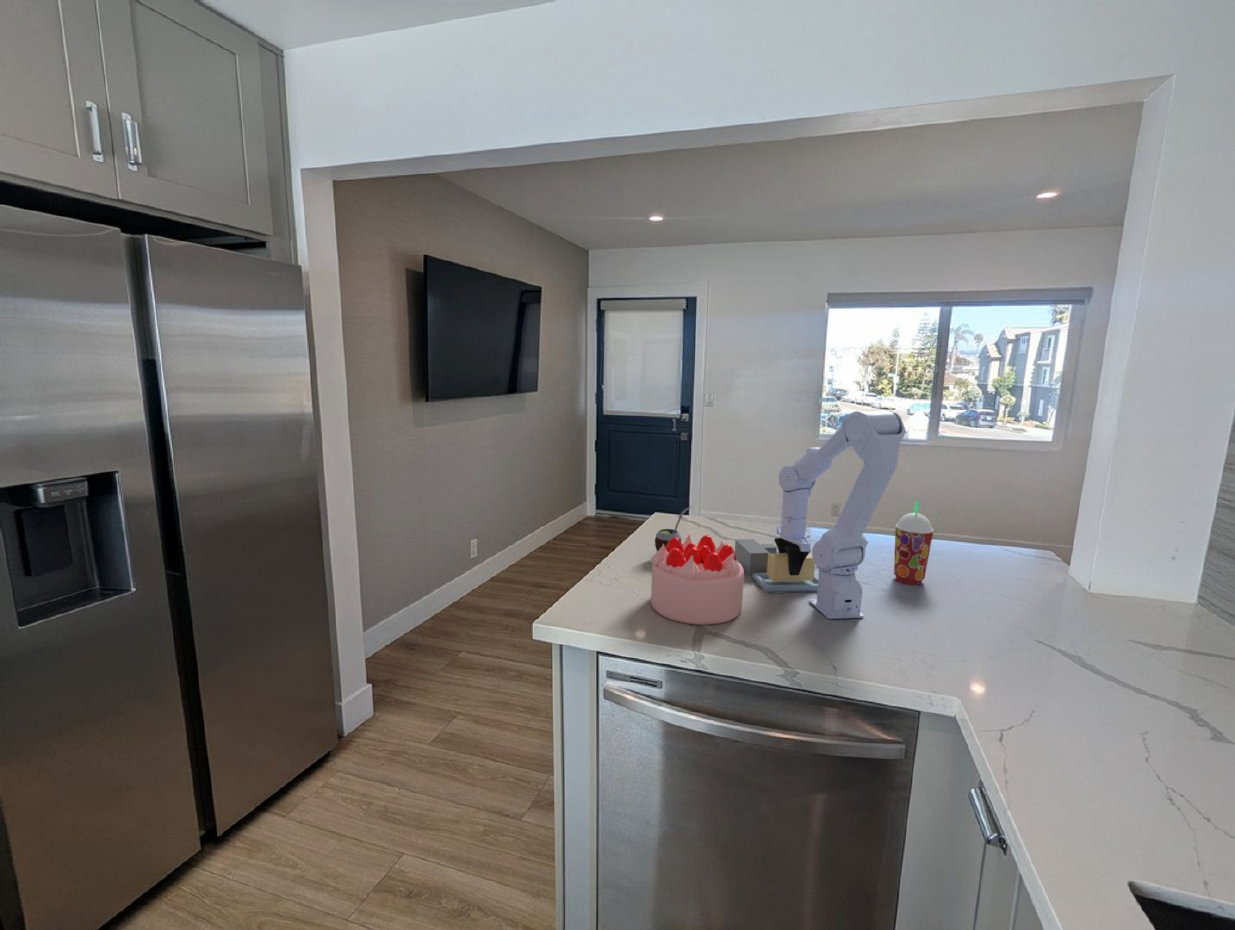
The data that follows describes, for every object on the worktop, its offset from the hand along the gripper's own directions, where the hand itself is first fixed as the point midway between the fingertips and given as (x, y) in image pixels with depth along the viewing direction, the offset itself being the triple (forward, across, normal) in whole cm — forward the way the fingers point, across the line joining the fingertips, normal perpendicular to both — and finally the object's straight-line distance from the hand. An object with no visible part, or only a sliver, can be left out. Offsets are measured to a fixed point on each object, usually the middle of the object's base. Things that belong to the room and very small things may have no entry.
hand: (790, 571), depth 140 cm
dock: (+3, +12, +3) cm, 13 cm away
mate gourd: (+4, +20, +25) cm, 32 cm away
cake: (+4, -10, +26) cm, 28 cm away
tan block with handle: (+2, 0, 0) cm, 2 cm away
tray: (+3, 0, 0) cm, 3 cm away
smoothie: (+4, 0, -31) cm, 31 cm away
